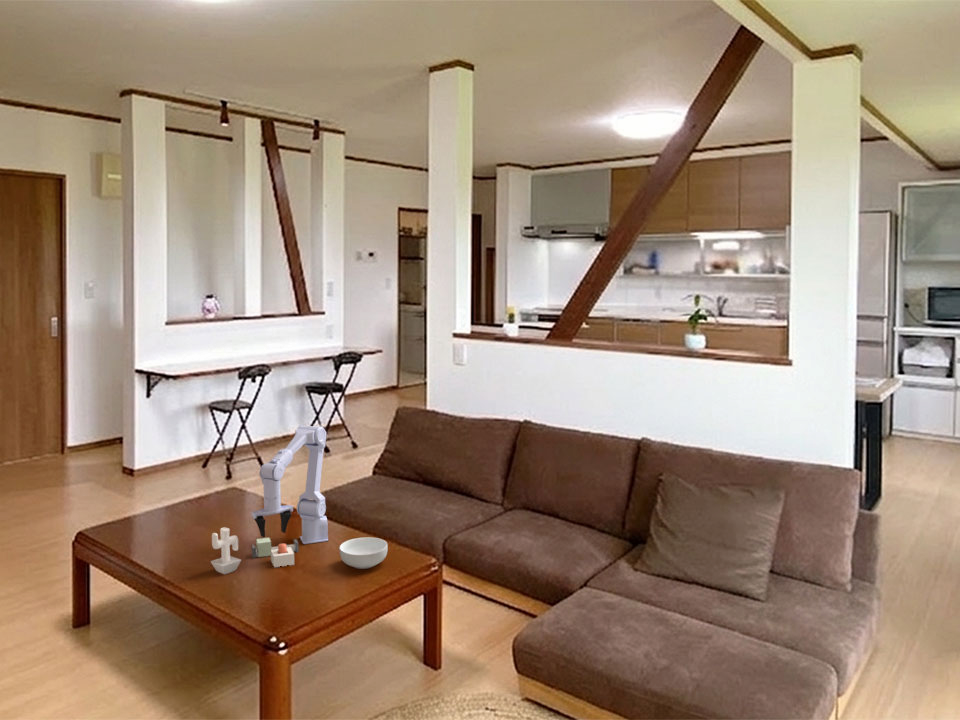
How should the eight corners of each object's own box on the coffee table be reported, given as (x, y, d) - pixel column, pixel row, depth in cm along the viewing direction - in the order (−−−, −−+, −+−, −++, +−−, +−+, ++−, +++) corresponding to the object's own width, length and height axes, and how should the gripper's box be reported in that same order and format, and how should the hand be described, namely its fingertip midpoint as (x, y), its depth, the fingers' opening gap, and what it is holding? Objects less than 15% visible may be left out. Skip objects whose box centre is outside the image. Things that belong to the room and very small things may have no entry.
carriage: (269, 551, 285) (269, 537, 284) (271, 555, 280) (271, 541, 280) (256, 552, 283) (256, 539, 282) (258, 557, 278) (257, 543, 278)
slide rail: (296, 548, 288) (296, 539, 288) (298, 551, 284) (298, 542, 284) (251, 554, 282) (251, 544, 281) (253, 558, 278) (253, 548, 278)
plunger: (285, 554, 275) (285, 543, 275) (287, 557, 273) (286, 545, 272) (277, 555, 274) (277, 544, 274) (279, 558, 272) (278, 546, 271)
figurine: (244, 569, 268) (243, 527, 266) (220, 577, 260) (219, 534, 258) (231, 564, 272) (230, 522, 270) (207, 572, 264) (206, 529, 263)
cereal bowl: (341, 556, 280) (341, 537, 279) (388, 555, 282) (387, 536, 281) (338, 575, 263) (337, 554, 262) (387, 573, 265) (387, 553, 264)
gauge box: (291, 557, 278) (290, 547, 278) (294, 564, 272) (294, 553, 271) (271, 560, 276) (270, 549, 275) (273, 567, 269) (273, 556, 269)
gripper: (287, 490, 281) (288, 527, 282) (247, 497, 272) (249, 535, 274) (295, 495, 275) (296, 532, 277) (255, 502, 267) (256, 540, 268)
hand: (273, 534), depth 275 cm, fingers open, 7 cm apart
